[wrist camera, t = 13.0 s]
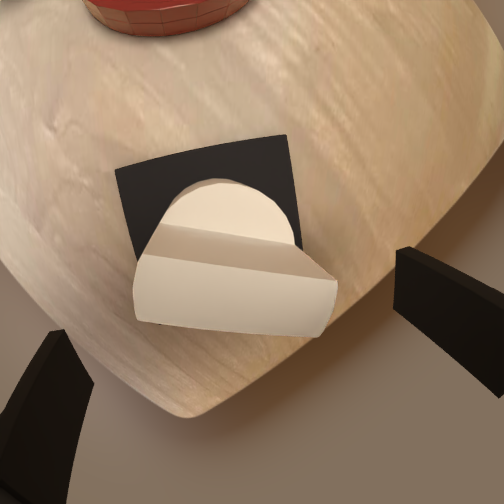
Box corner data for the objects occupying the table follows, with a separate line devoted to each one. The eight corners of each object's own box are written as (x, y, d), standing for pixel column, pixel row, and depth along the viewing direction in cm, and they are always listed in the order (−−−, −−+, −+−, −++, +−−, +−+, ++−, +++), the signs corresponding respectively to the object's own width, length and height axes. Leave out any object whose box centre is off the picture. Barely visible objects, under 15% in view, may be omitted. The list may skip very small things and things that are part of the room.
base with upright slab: (282, 190, 23) (361, 218, 12) (258, 291, 25) (305, 382, 14) (171, 169, 21) (145, 174, 10) (155, 278, 23) (131, 371, 12)
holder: (159, 320, 25) (158, 325, 25) (116, 169, 21) (114, 169, 20) (304, 287, 27) (307, 290, 26) (283, 135, 23) (286, 134, 22)
